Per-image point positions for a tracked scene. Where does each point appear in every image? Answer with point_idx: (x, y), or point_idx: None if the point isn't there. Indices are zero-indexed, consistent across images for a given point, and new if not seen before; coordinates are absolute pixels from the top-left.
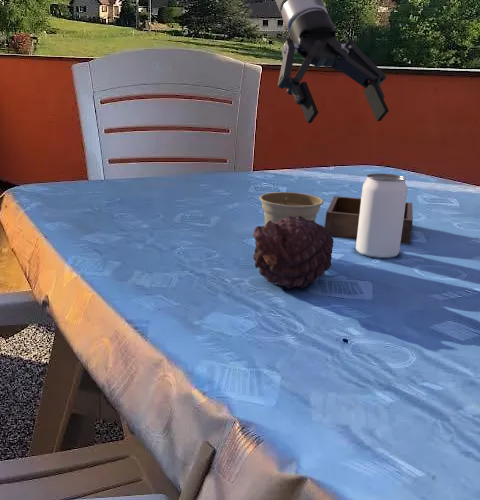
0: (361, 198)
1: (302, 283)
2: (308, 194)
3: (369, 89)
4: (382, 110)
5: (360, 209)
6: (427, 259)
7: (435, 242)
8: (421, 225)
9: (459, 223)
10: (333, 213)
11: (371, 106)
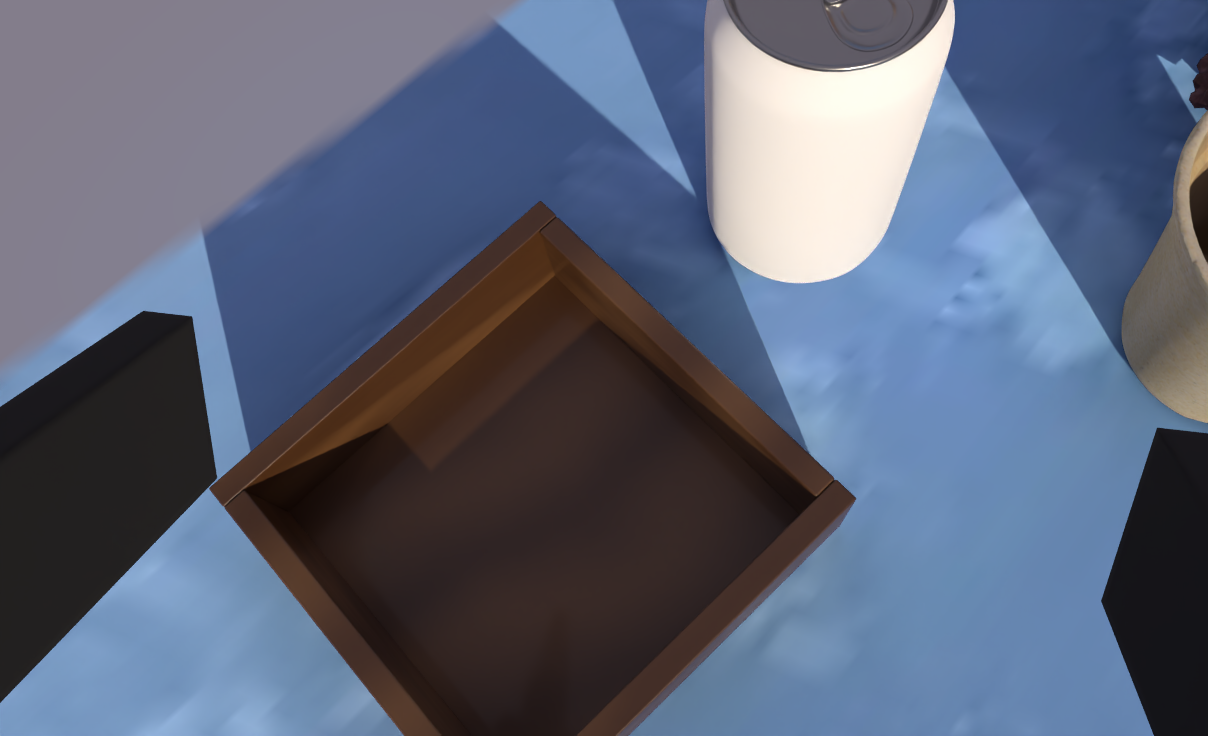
0: (923, 114)
1: None
2: (1201, 271)
3: None
4: (177, 364)
5: (915, 142)
6: (662, 79)
7: (424, 237)
8: None
9: None
10: (825, 470)
11: (95, 585)
